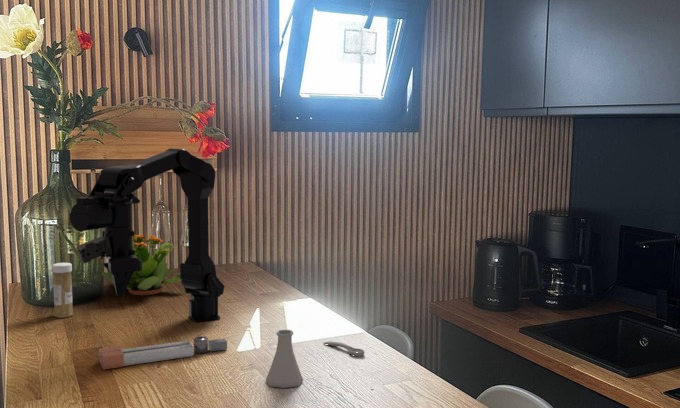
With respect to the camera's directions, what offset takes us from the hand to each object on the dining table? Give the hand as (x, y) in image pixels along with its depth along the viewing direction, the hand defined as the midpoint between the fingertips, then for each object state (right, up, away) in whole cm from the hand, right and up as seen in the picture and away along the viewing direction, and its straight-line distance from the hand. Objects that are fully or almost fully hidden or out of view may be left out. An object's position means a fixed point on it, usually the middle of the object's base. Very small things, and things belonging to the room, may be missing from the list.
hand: (119, 296), depth 145 cm
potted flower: (-9, -6, +50) cm, 51 cm away
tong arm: (+9, -12, -4) cm, 16 cm away
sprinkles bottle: (-23, -9, +25) cm, 35 cm away
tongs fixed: (+11, -12, -4) cm, 17 cm away
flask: (+37, -15, -16) cm, 43 cm away
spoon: (+49, -13, +3) cm, 50 cm away
